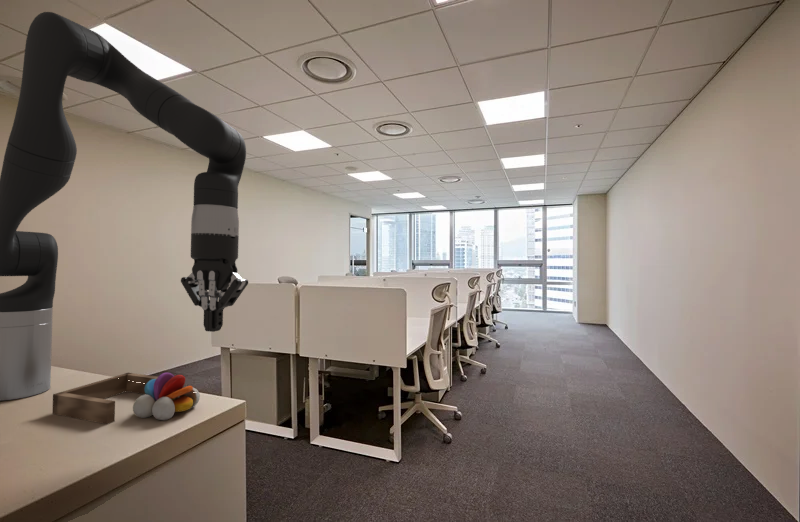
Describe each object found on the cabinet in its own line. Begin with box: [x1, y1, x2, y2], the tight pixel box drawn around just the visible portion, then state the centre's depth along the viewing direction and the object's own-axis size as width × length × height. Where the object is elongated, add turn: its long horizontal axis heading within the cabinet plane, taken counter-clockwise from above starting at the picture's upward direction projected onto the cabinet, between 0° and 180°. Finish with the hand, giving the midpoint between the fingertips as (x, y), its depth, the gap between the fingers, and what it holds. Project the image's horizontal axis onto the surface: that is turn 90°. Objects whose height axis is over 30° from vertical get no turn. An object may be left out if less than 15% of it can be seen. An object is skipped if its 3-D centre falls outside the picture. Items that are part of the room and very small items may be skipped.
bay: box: [51, 372, 158, 425], centre depth 69 cm, size 13×14×4 cm
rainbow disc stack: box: [132, 372, 201, 421], centre depth 67 cm, size 8×10×7 cm
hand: (213, 330), depth 64 cm, fingers closed
